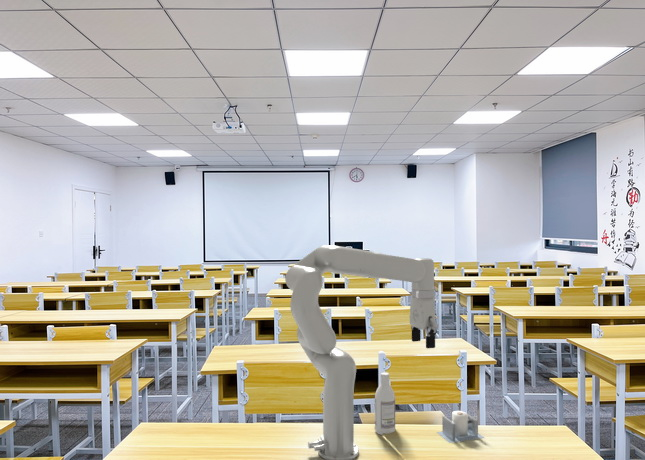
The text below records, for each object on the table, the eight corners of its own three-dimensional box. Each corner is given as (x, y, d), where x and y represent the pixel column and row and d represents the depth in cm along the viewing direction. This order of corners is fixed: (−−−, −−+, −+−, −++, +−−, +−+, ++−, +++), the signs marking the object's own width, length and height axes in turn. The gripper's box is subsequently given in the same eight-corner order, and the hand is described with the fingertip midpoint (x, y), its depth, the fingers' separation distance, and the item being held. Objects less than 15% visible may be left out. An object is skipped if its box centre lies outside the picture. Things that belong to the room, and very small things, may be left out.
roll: (457, 439, 144) (457, 417, 144) (449, 432, 149) (449, 411, 149) (470, 437, 146) (470, 415, 146) (462, 430, 150) (461, 409, 151)
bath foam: (399, 432, 152) (399, 373, 152) (385, 438, 147) (385, 378, 147) (384, 425, 157) (384, 369, 157) (370, 431, 153) (370, 373, 153)
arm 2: (473, 437, 145) (473, 420, 145) (462, 429, 151) (462, 413, 151) (478, 436, 146) (477, 420, 146) (467, 429, 152) (467, 413, 152)
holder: (449, 446, 142) (449, 439, 142) (436, 435, 149) (436, 429, 149) (484, 440, 145) (484, 434, 145) (469, 430, 153) (469, 424, 153)
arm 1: (452, 440, 143) (452, 423, 143) (442, 432, 149) (442, 416, 149) (457, 440, 144) (457, 423, 144) (447, 432, 149) (447, 415, 149)
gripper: (401, 291, 158) (401, 339, 158) (426, 298, 142) (426, 351, 142) (420, 290, 161) (420, 338, 160) (446, 297, 144) (446, 350, 144)
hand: (423, 344), depth 151 cm, fingers open, 9 cm apart
